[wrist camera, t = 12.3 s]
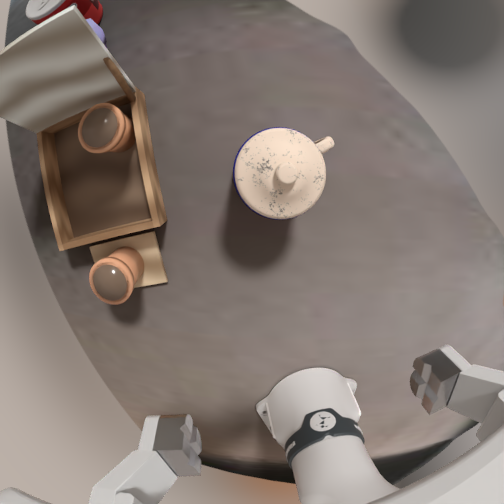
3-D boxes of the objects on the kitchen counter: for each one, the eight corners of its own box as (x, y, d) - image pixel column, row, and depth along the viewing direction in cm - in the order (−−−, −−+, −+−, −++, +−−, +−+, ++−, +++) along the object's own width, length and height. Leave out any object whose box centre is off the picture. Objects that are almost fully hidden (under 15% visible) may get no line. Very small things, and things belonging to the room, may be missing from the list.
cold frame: (167, 220, 35) (107, 276, 16) (73, 243, 34) (-17, 301, 16) (141, 73, 29) (73, 3, 10) (50, 111, 28) (-46, 92, 10)
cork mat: (168, 280, 37) (167, 281, 37) (105, 291, 37) (104, 293, 36) (154, 230, 35) (153, 231, 35) (91, 245, 35) (89, 246, 34)
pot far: (151, 279, 36) (137, 301, 30) (116, 286, 36) (98, 307, 30) (140, 240, 35) (123, 255, 28) (104, 248, 35) (82, 264, 28)
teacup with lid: (256, 221, 36) (270, 245, 25) (217, 161, 33) (213, 156, 22) (333, 174, 35) (377, 178, 24) (298, 113, 32) (330, 91, 21)
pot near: (143, 148, 31) (125, 144, 25) (104, 160, 31) (81, 159, 25) (137, 107, 30) (119, 95, 23) (99, 120, 30) (75, 112, 23)
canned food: (54, 46, 25) (16, 23, 15) (73, 6, 23) (42, -22, 13) (92, 42, 26) (57, 12, 16) (111, 0, 24) (85, -35, 14)
